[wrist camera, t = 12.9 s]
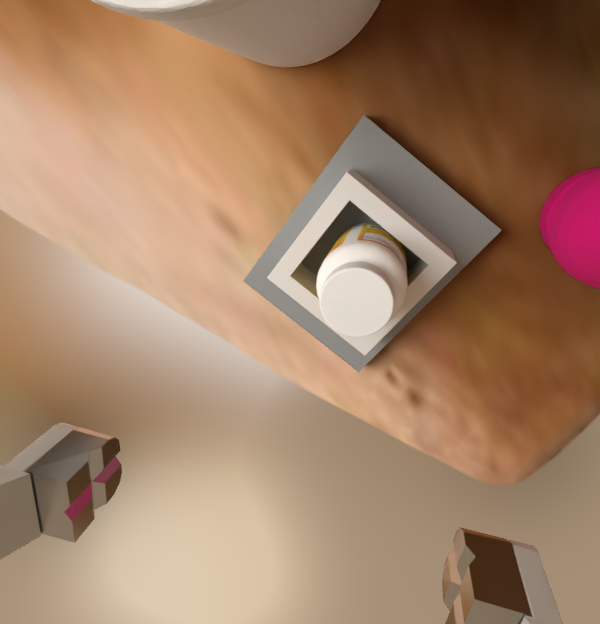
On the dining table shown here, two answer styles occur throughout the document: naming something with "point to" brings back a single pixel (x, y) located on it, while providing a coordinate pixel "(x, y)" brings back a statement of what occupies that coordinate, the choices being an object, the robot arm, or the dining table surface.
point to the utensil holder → (261, 25)
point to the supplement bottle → (362, 280)
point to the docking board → (370, 209)
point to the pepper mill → (575, 225)
